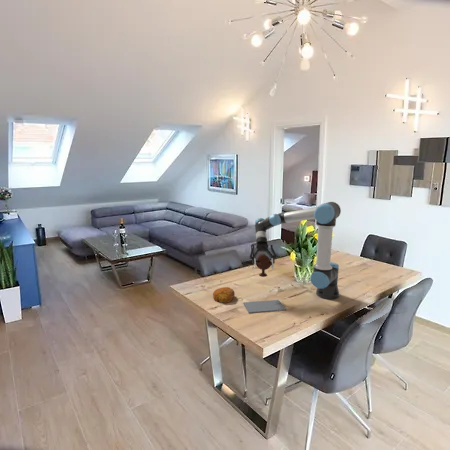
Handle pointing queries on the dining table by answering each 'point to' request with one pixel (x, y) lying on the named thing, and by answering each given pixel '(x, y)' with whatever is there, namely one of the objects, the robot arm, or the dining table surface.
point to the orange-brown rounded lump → (223, 294)
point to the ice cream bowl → (263, 264)
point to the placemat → (264, 306)
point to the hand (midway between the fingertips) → (264, 268)
